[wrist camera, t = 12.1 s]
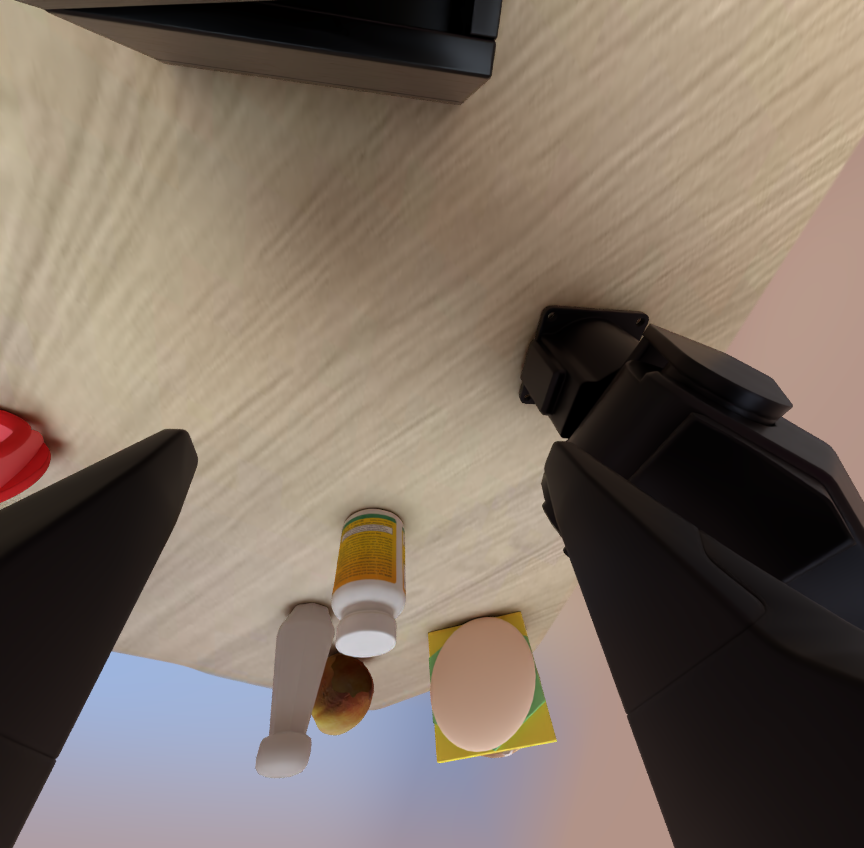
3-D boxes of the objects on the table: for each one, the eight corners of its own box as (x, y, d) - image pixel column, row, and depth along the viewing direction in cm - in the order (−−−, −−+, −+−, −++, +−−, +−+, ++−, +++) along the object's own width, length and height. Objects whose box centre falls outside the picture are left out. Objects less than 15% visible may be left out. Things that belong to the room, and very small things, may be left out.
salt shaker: (275, 618, 39) (232, 783, 29) (293, 594, 36) (252, 766, 26) (325, 627, 41) (302, 783, 31) (345, 605, 39) (327, 767, 28)
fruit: (312, 642, 43) (298, 724, 37) (379, 643, 45) (377, 722, 39) (310, 666, 48) (296, 744, 41) (371, 666, 49) (367, 741, 43)
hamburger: (441, 650, 48) (453, 771, 38) (422, 625, 43) (430, 757, 34) (527, 631, 47) (561, 752, 37) (517, 603, 42) (554, 734, 32)
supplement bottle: (415, 531, 32) (421, 647, 24) (365, 551, 33) (357, 668, 25) (382, 497, 29) (377, 618, 21) (329, 521, 30) (307, 643, 22)
